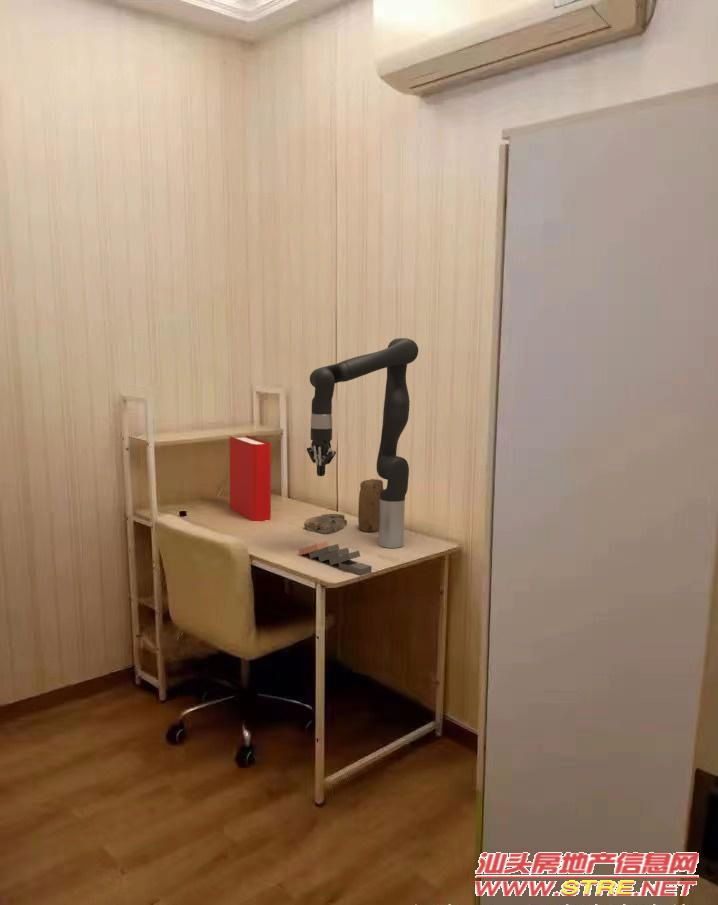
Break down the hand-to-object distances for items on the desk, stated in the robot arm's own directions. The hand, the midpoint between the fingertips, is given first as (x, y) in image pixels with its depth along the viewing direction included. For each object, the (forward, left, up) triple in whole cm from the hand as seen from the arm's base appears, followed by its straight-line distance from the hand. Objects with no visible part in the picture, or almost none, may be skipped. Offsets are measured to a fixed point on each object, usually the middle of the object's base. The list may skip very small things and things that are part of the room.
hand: (320, 475), depth 257 cm
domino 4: (+16, +6, -26) cm, 31 cm away
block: (-30, +20, -27) cm, 45 cm away
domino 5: (+19, +9, -26) cm, 33 cm away
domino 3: (+12, +2, -26) cm, 29 cm away
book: (-53, -31, -27) cm, 67 cm away
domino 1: (+5, -5, -26) cm, 27 cm away
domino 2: (+8, -1, -26) cm, 27 cm away
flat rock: (-33, +3, -28) cm, 43 cm away
